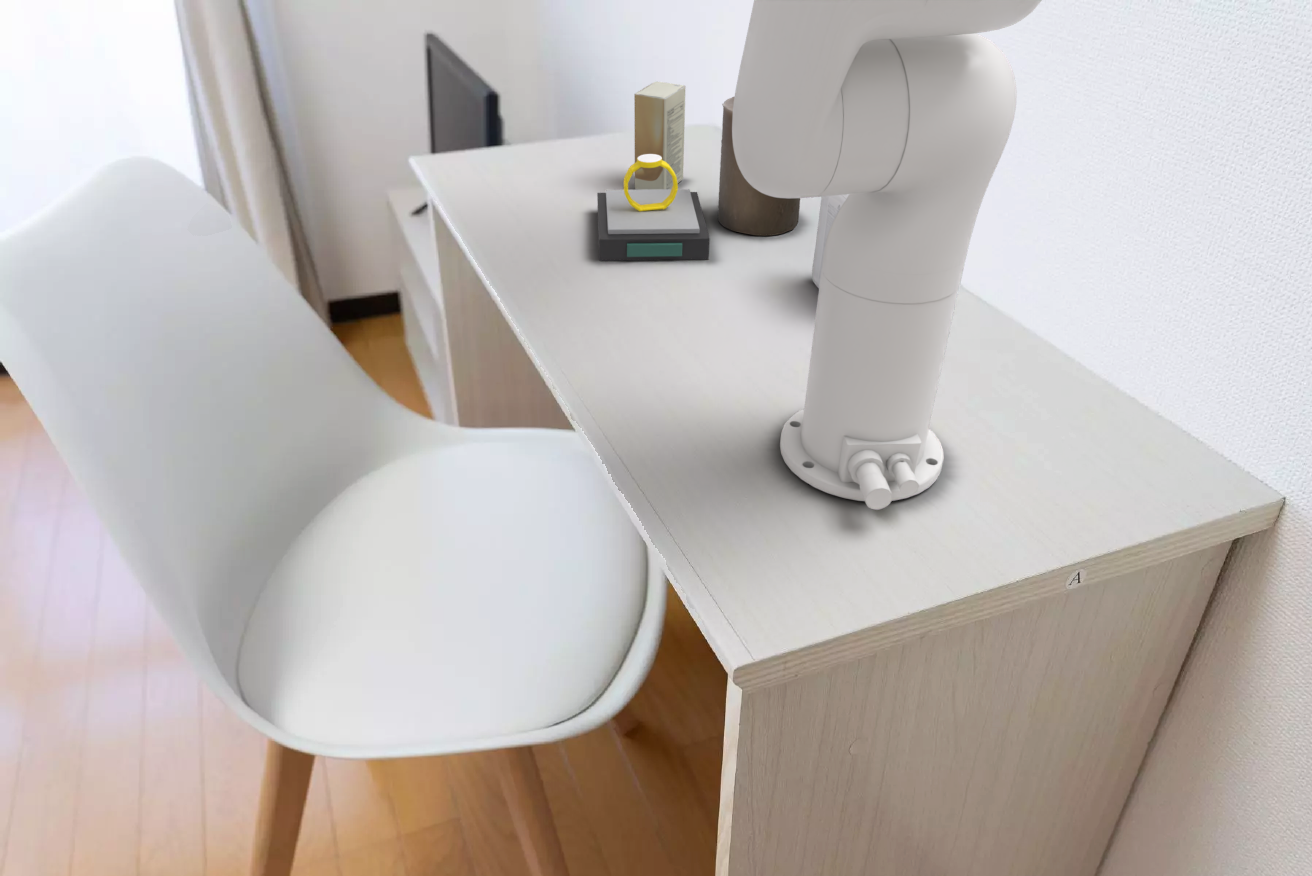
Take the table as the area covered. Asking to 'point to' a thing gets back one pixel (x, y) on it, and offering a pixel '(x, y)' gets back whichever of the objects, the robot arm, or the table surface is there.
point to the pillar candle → (748, 194)
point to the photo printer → (825, 230)
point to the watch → (650, 162)
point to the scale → (651, 226)
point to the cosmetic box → (660, 132)
